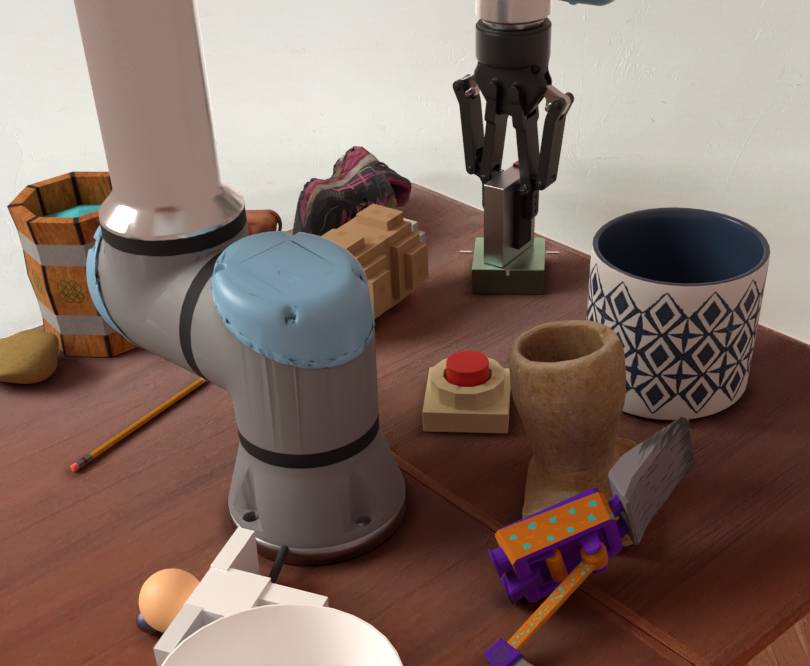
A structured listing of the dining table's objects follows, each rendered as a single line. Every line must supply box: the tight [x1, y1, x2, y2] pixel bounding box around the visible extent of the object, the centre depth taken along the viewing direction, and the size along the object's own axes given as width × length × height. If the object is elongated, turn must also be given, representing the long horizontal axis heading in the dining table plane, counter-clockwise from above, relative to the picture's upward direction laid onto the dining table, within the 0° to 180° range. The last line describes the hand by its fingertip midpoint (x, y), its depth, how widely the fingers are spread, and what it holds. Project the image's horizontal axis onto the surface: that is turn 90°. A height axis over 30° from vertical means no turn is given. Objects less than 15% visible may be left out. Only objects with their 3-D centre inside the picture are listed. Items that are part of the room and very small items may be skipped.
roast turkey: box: [321, 204, 430, 320], centre depth 121 cm, size 10×18×10 cm, turn 145°
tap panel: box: [458, 236, 560, 295], centre depth 128 cm, size 11×11×3 cm
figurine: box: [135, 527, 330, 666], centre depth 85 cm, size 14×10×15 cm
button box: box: [421, 356, 511, 434], centre depth 108 cm, size 8×8×4 cm
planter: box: [585, 206, 771, 421], centre depth 107 cm, size 16×16×14 cm
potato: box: [0, 328, 59, 385], centre depth 116 cm, size 7×8×8 cm
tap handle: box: [483, 160, 536, 267], centre depth 124 cm, size 7×2×9 cm, turn 145°
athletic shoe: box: [292, 145, 413, 237], centre depth 135 cm, size 11×22×12 cm
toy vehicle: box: [483, 417, 696, 666], centre depth 83 cm, size 9×21×15 cm
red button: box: [446, 350, 489, 387], centre depth 106 cm, size 4×4×2 cm
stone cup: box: [507, 319, 639, 548], centre depth 93 cm, size 15×12×15 cm
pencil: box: [69, 377, 207, 473], centre depth 109 cm, size 19×1×1 cm, turn 146°
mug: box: [6, 171, 138, 358], centre depth 120 cm, size 20×14×15 cm
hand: (509, 240), depth 126 cm, fingers closed on tap handle, 2 cm apart
